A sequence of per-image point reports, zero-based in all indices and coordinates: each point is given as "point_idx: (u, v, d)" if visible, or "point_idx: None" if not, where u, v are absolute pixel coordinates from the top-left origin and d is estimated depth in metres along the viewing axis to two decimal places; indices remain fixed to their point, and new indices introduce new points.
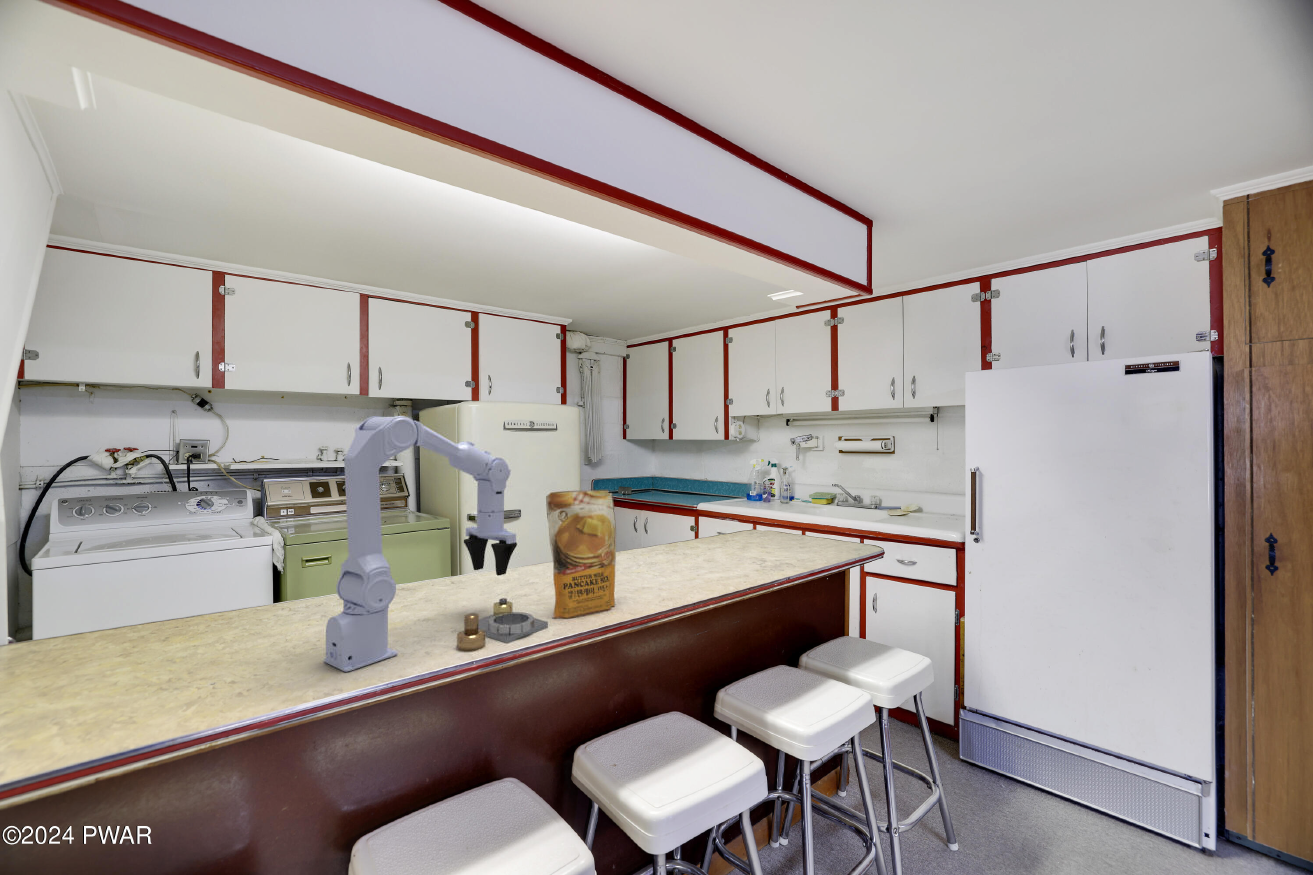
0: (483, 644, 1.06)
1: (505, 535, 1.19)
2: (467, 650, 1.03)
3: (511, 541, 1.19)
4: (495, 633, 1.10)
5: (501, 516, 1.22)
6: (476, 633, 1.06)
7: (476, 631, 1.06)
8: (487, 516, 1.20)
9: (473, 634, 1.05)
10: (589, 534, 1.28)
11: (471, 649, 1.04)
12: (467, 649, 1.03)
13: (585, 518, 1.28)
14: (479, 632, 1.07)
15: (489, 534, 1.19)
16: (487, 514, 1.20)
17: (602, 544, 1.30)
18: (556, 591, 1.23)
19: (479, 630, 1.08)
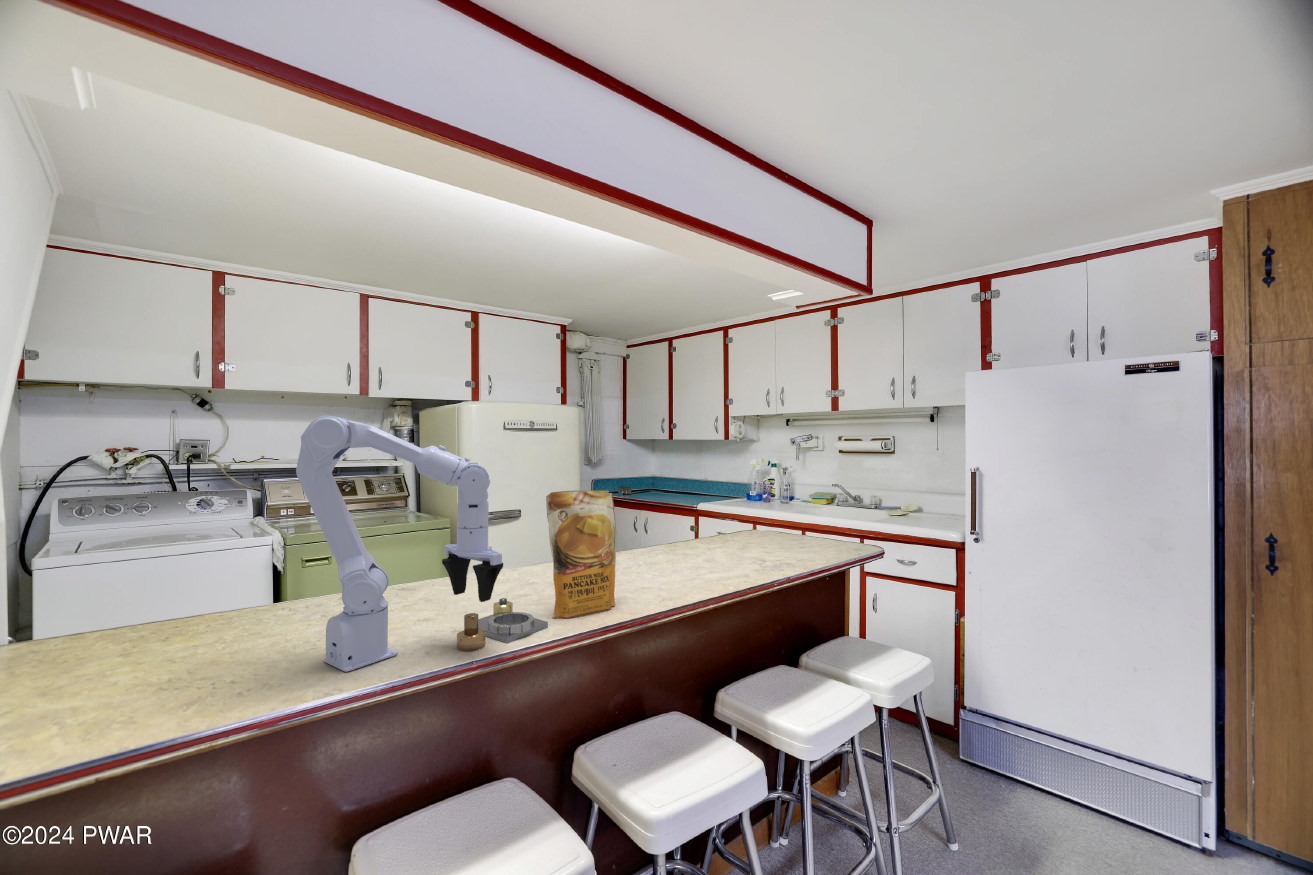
0: (483, 644, 1.06)
1: (489, 555, 1.02)
2: (467, 650, 1.03)
3: (496, 562, 1.02)
4: (495, 633, 1.10)
5: (485, 532, 1.05)
6: (476, 633, 1.05)
7: (476, 631, 1.06)
8: (468, 533, 1.03)
9: (473, 634, 1.05)
10: (589, 534, 1.28)
11: (471, 649, 1.04)
12: (467, 649, 1.03)
13: (585, 518, 1.28)
14: (479, 632, 1.07)
15: (470, 554, 1.03)
16: (468, 530, 1.03)
17: (602, 544, 1.30)
18: (556, 591, 1.23)
19: (479, 630, 1.08)
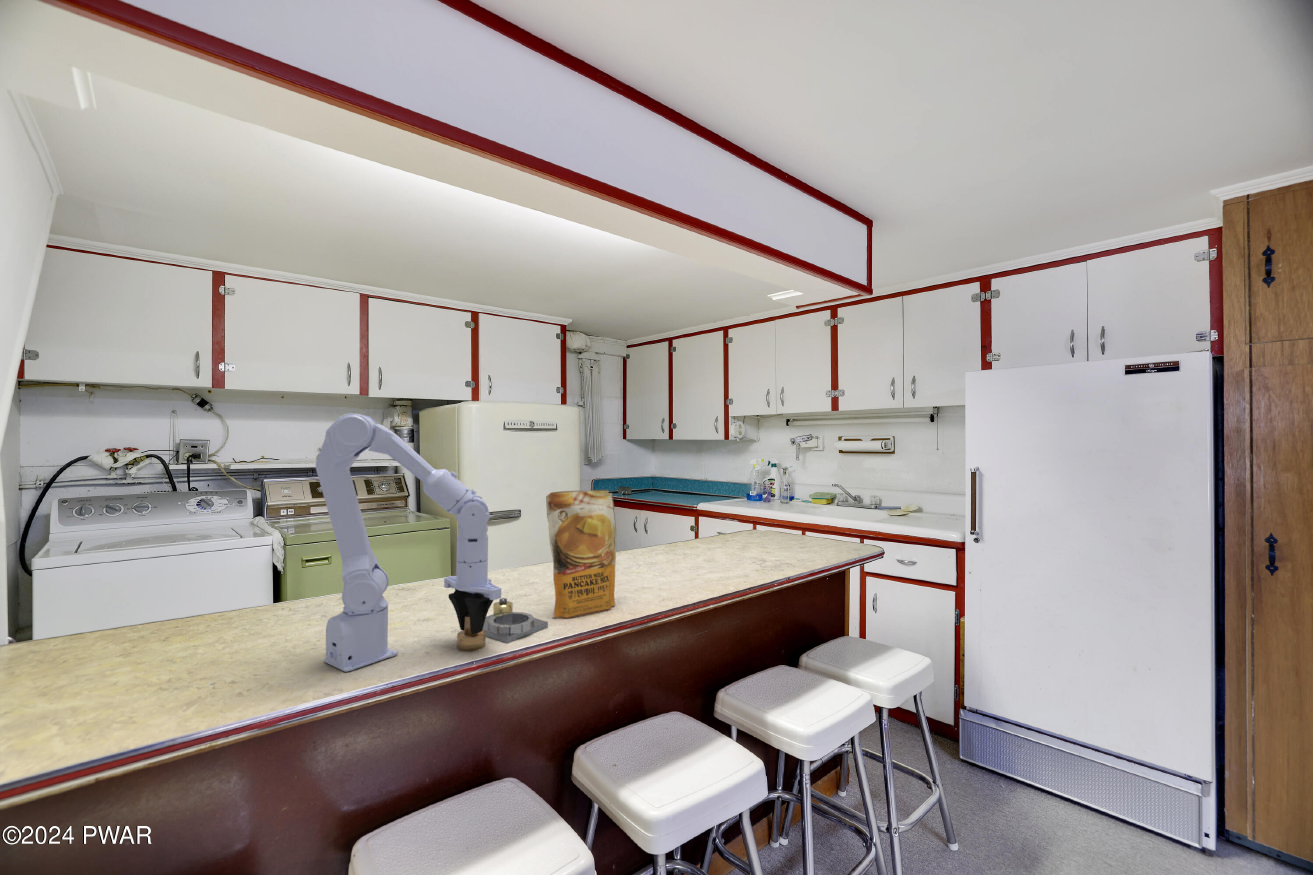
0: (483, 644, 1.05)
1: (488, 590, 1.02)
2: (467, 650, 1.03)
3: (495, 597, 1.02)
4: (495, 633, 1.10)
5: (484, 566, 1.05)
6: (476, 633, 1.05)
7: None
8: (468, 567, 1.03)
9: (473, 634, 1.05)
10: (589, 534, 1.28)
11: (471, 649, 1.04)
12: (467, 649, 1.03)
13: (585, 518, 1.28)
14: (479, 632, 1.07)
15: (470, 588, 1.03)
16: (468, 565, 1.03)
17: (602, 544, 1.30)
18: (556, 591, 1.23)
19: None
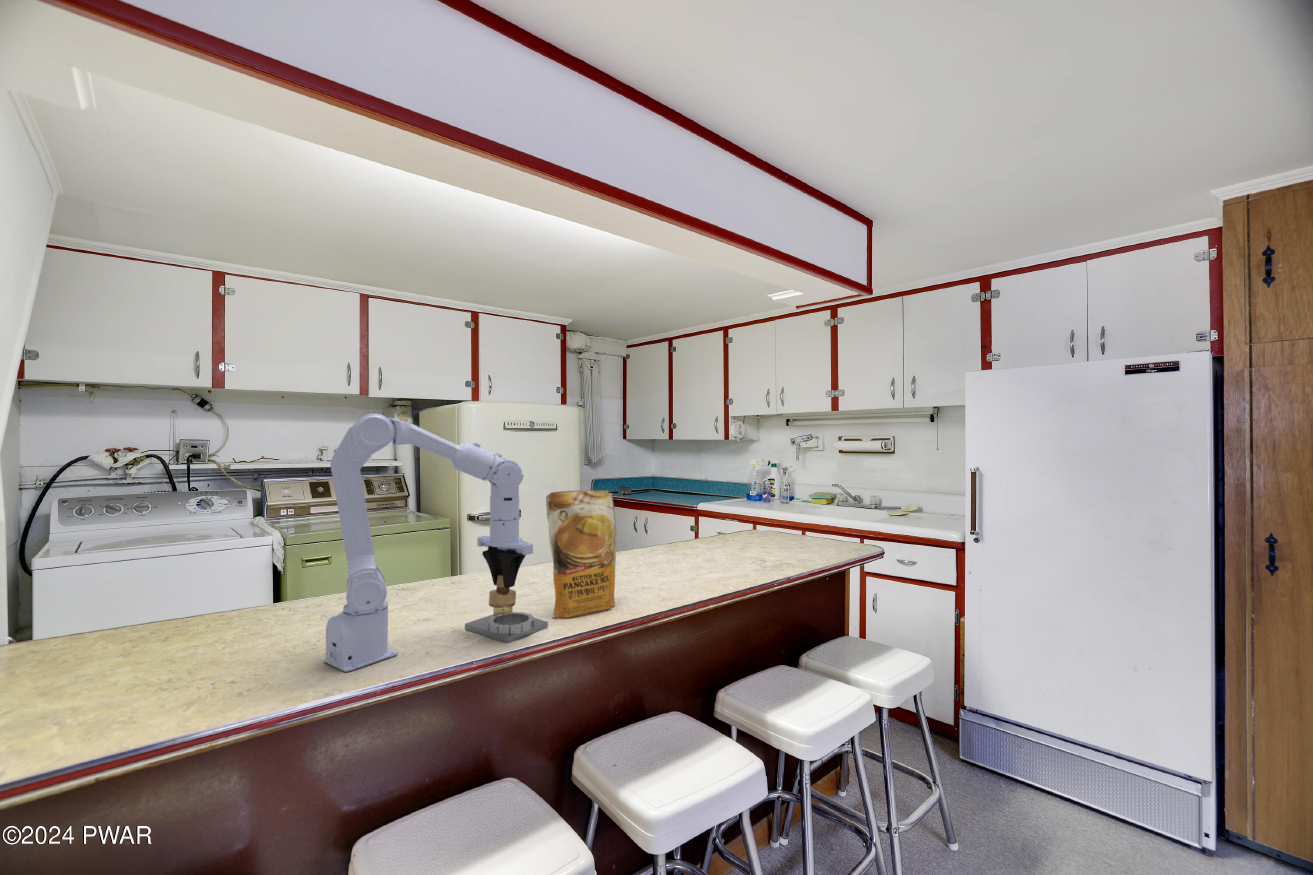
0: (513, 602, 1.11)
1: (521, 545, 1.08)
2: (498, 606, 1.09)
3: (528, 552, 1.08)
4: (495, 633, 1.10)
5: (516, 524, 1.11)
6: (507, 591, 1.11)
7: (507, 589, 1.11)
8: (501, 525, 1.09)
9: (505, 592, 1.11)
10: (589, 534, 1.28)
11: (502, 605, 1.09)
12: (498, 605, 1.09)
13: (585, 518, 1.28)
14: (510, 591, 1.12)
15: (503, 544, 1.09)
16: (501, 522, 1.09)
17: (602, 544, 1.30)
18: (556, 591, 1.23)
19: (510, 590, 1.13)
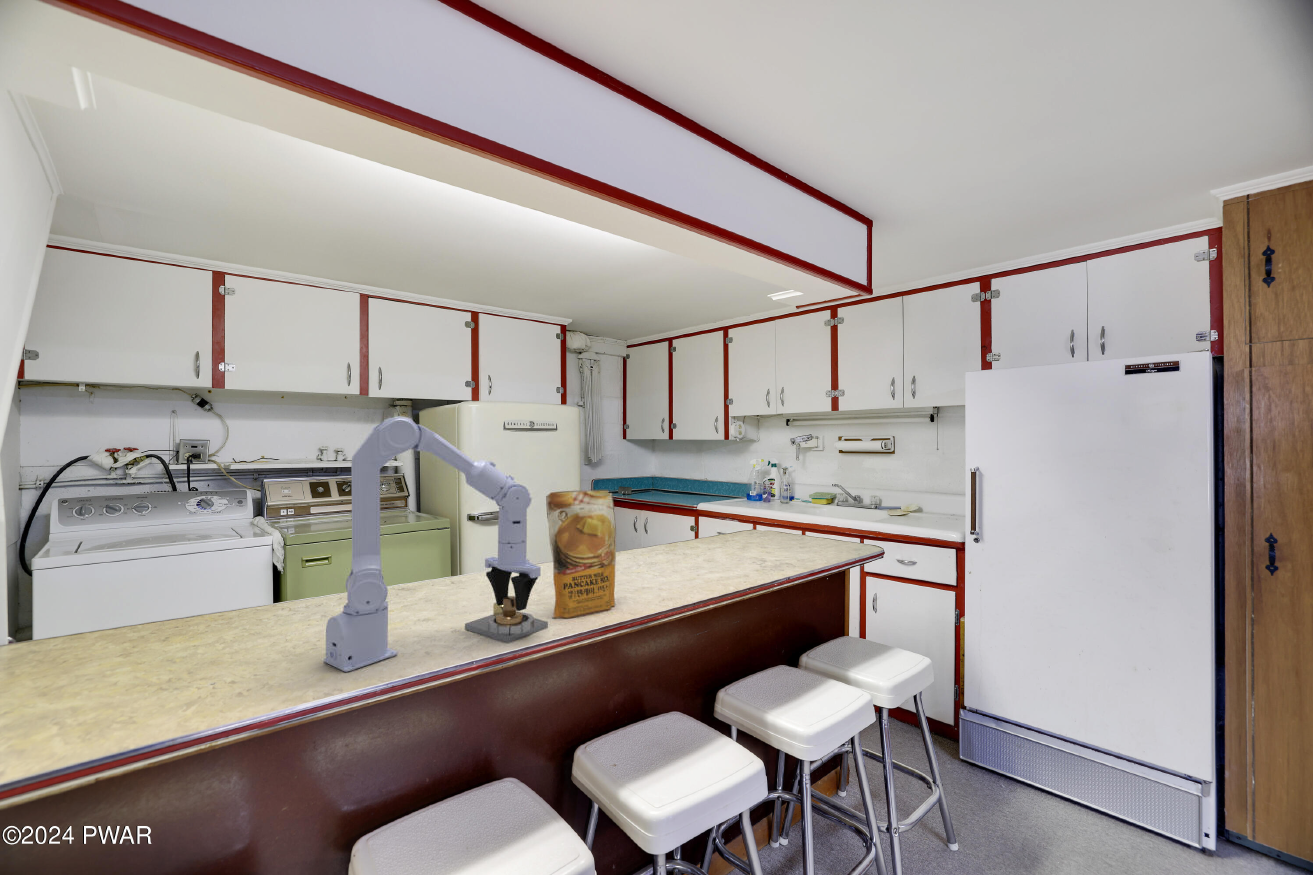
0: None
1: (529, 568, 1.09)
2: None
3: (535, 575, 1.09)
4: (495, 633, 1.10)
5: (524, 547, 1.13)
6: (514, 614, 1.13)
7: (514, 613, 1.13)
8: (509, 547, 1.11)
9: (511, 615, 1.12)
10: (589, 534, 1.28)
11: None
12: None
13: (585, 518, 1.28)
14: (516, 614, 1.14)
15: (511, 567, 1.10)
16: (509, 545, 1.11)
17: (602, 544, 1.30)
18: (556, 591, 1.23)
19: (516, 612, 1.15)
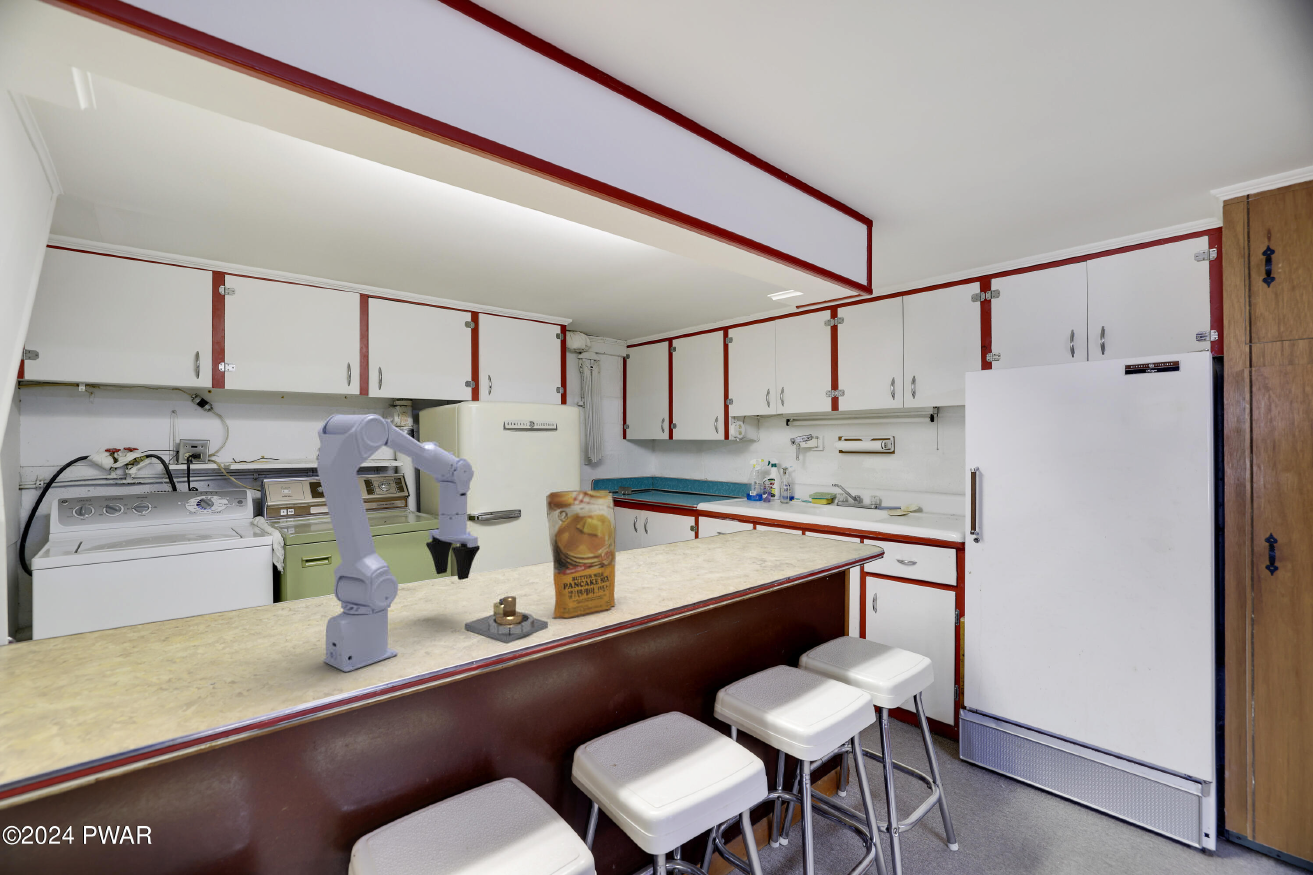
0: None
1: (466, 538, 1.15)
2: None
3: (472, 544, 1.15)
4: (495, 633, 1.10)
5: (463, 519, 1.19)
6: (514, 614, 1.13)
7: (514, 613, 1.13)
8: (448, 519, 1.17)
9: (511, 615, 1.12)
10: (589, 534, 1.28)
11: None
12: None
13: (585, 518, 1.28)
14: (516, 614, 1.14)
15: (450, 537, 1.16)
16: (448, 517, 1.17)
17: (602, 544, 1.30)
18: (556, 591, 1.23)
19: (516, 612, 1.15)
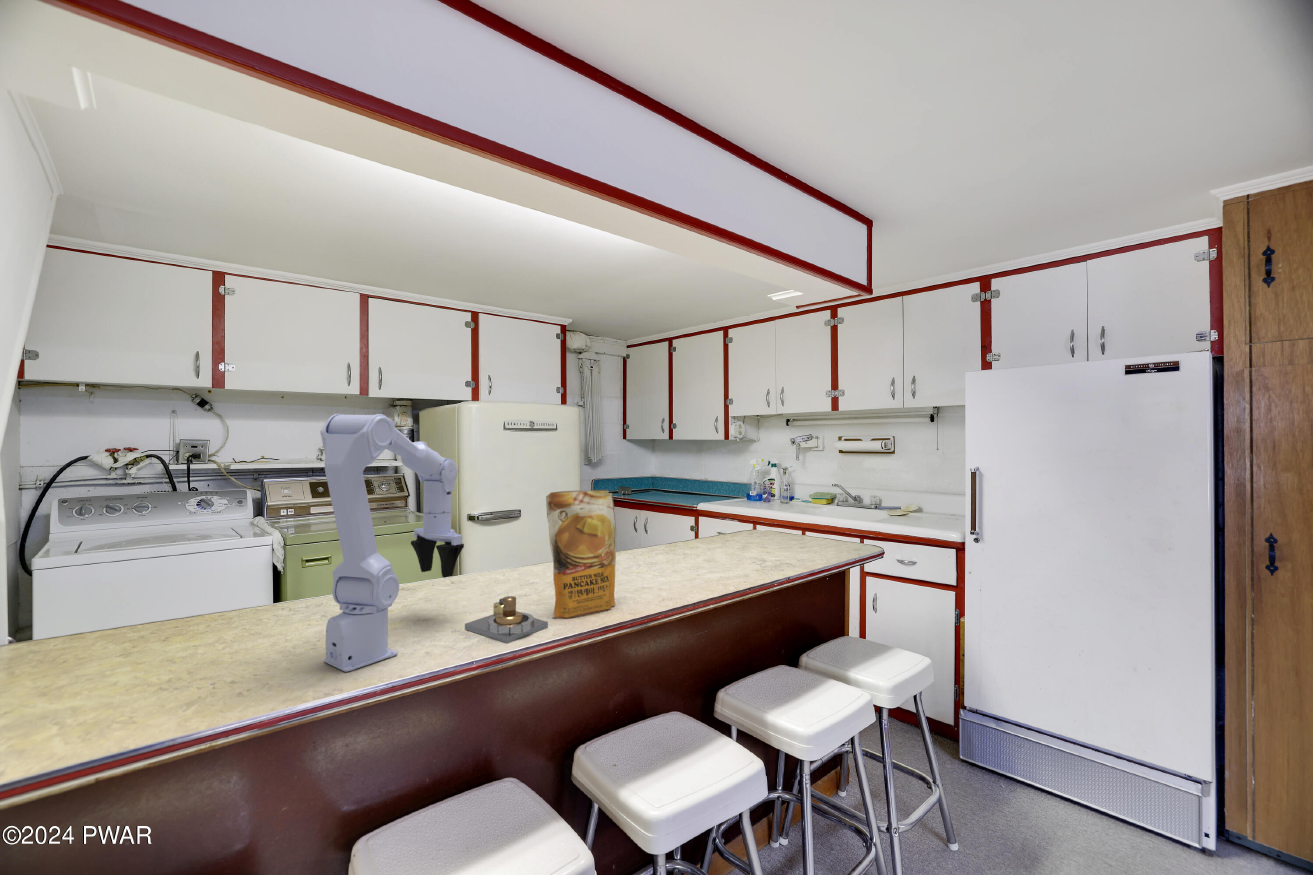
0: None
1: (450, 536, 1.17)
2: None
3: (456, 542, 1.17)
4: (495, 633, 1.10)
5: (448, 517, 1.20)
6: (514, 614, 1.13)
7: (514, 613, 1.13)
8: (433, 517, 1.18)
9: (511, 615, 1.12)
10: (589, 534, 1.28)
11: None
12: None
13: (585, 518, 1.28)
14: (516, 614, 1.14)
15: (434, 535, 1.18)
16: (433, 515, 1.18)
17: (602, 544, 1.30)
18: (556, 591, 1.23)
19: (516, 612, 1.15)
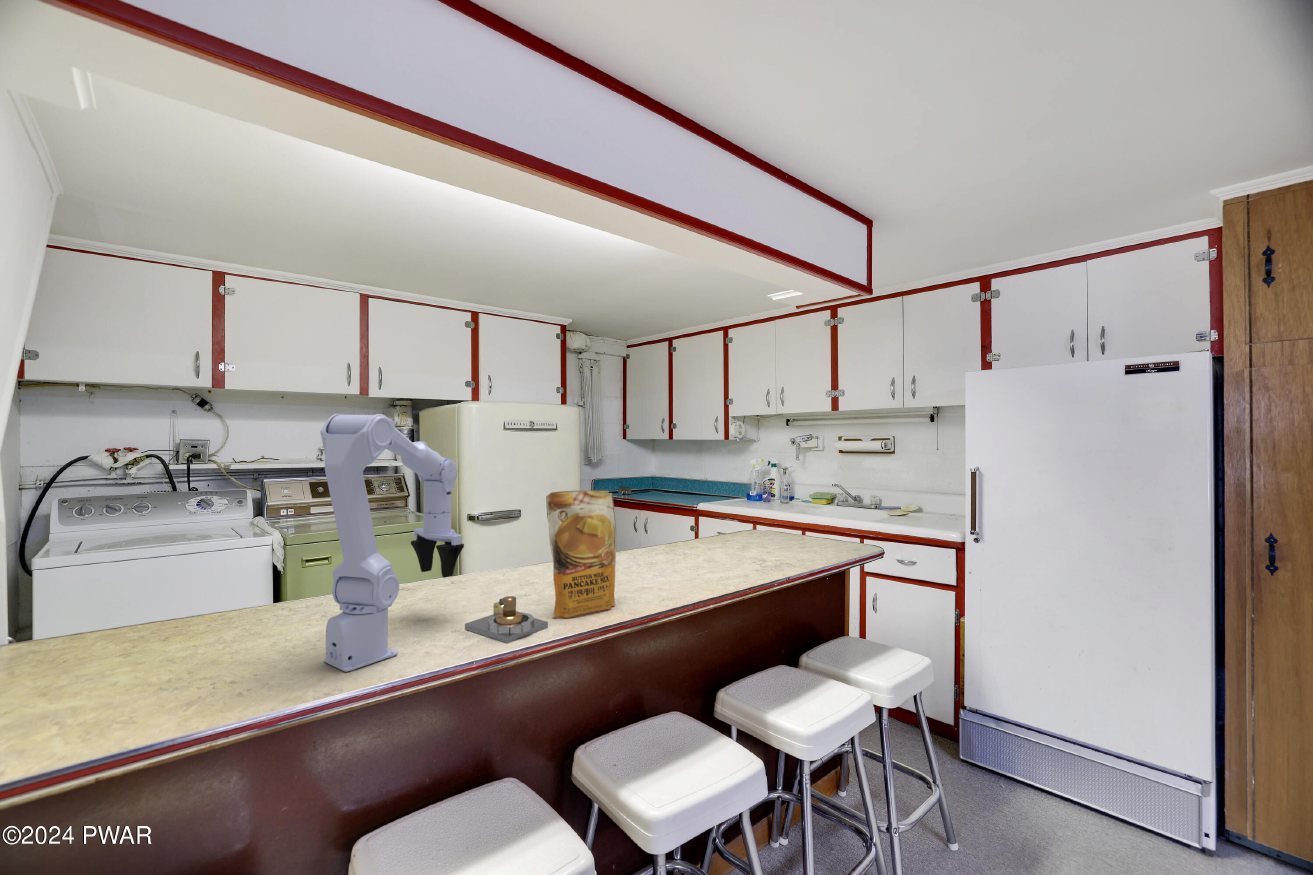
0: None
1: (450, 536, 1.17)
2: None
3: (456, 542, 1.17)
4: (495, 633, 1.10)
5: (448, 517, 1.20)
6: (514, 614, 1.13)
7: (514, 613, 1.13)
8: (433, 517, 1.18)
9: (511, 615, 1.12)
10: (589, 534, 1.28)
11: None
12: None
13: (585, 518, 1.28)
14: (516, 614, 1.14)
15: (434, 535, 1.18)
16: (433, 515, 1.18)
17: (602, 544, 1.30)
18: (556, 591, 1.23)
19: (516, 612, 1.15)
